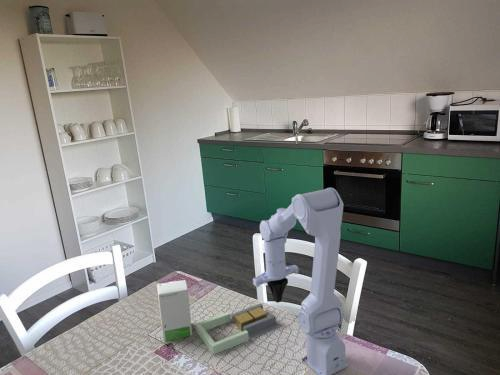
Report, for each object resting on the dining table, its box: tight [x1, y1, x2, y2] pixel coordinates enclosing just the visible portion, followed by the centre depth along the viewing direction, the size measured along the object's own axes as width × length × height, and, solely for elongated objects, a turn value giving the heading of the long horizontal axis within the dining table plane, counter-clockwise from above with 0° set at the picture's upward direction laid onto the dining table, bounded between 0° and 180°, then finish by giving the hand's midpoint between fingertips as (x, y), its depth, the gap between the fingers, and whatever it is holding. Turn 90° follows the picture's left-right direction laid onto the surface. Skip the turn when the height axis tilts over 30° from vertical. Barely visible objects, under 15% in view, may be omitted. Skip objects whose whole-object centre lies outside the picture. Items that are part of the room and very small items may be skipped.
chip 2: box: [248, 307, 268, 322], centre depth 116 cm, size 4×4×3 cm
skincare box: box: [156, 279, 193, 345], centre depth 112 cm, size 8×7×16 cm
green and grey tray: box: [194, 303, 280, 355], centre depth 113 cm, size 12×20×4 cm, turn 119°
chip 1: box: [234, 312, 254, 332], centre depth 114 cm, size 4×4×3 cm
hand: (277, 300), depth 118 cm, fingers closed
